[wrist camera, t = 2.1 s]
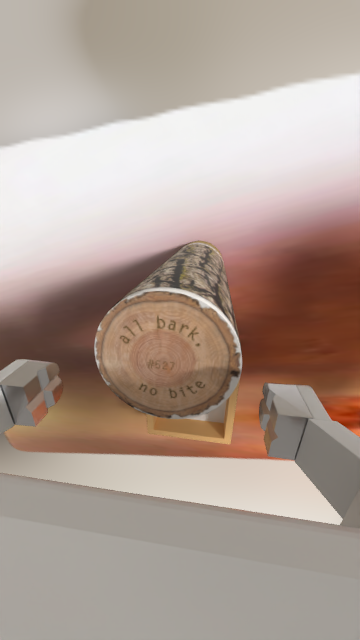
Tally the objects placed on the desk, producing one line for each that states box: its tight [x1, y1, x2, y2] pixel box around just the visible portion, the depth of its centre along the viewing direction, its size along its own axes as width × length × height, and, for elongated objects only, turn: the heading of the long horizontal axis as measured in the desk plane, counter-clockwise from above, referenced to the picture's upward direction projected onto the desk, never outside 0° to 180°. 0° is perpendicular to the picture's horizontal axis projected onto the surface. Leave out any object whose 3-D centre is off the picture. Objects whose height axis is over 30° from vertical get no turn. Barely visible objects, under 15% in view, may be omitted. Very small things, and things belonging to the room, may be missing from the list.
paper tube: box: [94, 241, 242, 419], centre depth 22 cm, size 7×7×25 cm
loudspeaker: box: [147, 379, 240, 444], centre depth 37 cm, size 13×18×8 cm
